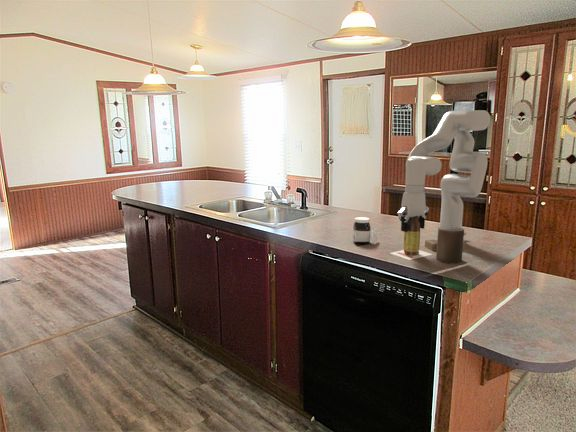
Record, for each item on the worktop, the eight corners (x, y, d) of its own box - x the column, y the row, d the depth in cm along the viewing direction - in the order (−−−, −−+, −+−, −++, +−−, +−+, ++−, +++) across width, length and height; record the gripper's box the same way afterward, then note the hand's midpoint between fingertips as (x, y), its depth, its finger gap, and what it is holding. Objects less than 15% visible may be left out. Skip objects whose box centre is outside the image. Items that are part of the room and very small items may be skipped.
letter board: (412, 249, 183) (412, 248, 183) (432, 256, 174) (432, 254, 173) (389, 254, 176) (389, 253, 175) (409, 261, 166) (409, 259, 166)
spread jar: (351, 240, 199) (352, 216, 197) (375, 239, 199) (376, 216, 197) (355, 247, 188) (356, 221, 185) (380, 247, 188) (381, 221, 185)
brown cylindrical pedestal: (461, 266, 160) (464, 228, 157) (434, 263, 164) (437, 226, 161) (461, 259, 169) (464, 223, 166) (436, 256, 173) (439, 221, 170)
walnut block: (437, 248, 186) (437, 239, 185) (444, 251, 180) (445, 243, 179) (424, 248, 185) (425, 240, 184) (431, 252, 179) (432, 243, 178)
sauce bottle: (407, 250, 179) (409, 205, 175) (421, 253, 175) (424, 206, 171) (400, 254, 174) (403, 207, 170) (415, 256, 170) (418, 209, 166)
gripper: (422, 185, 176) (419, 225, 180) (392, 189, 167) (390, 230, 171) (436, 187, 170) (434, 228, 174) (406, 192, 161) (404, 234, 165)
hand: (412, 229), depth 172 cm, fingers open, 9 cm apart
